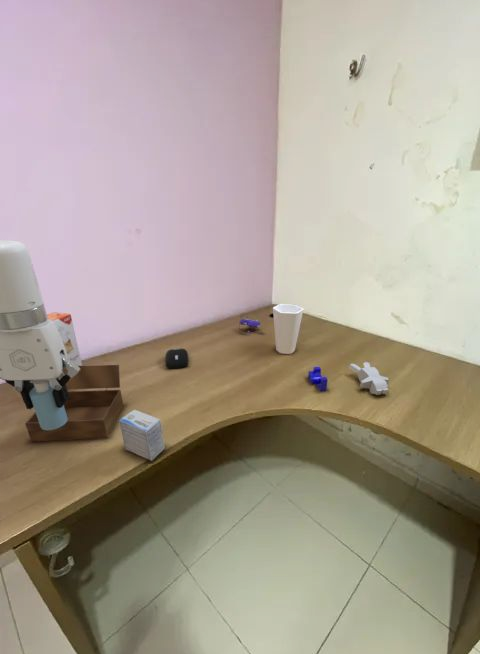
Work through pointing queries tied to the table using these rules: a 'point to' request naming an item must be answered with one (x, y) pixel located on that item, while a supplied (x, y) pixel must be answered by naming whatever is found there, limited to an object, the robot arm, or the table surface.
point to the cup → (286, 326)
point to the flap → (95, 377)
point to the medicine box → (142, 434)
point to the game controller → (249, 323)
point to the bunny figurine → (371, 379)
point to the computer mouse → (176, 358)
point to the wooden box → (82, 417)
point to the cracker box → (66, 335)
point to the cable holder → (318, 378)
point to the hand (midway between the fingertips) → (48, 403)
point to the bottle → (47, 406)
